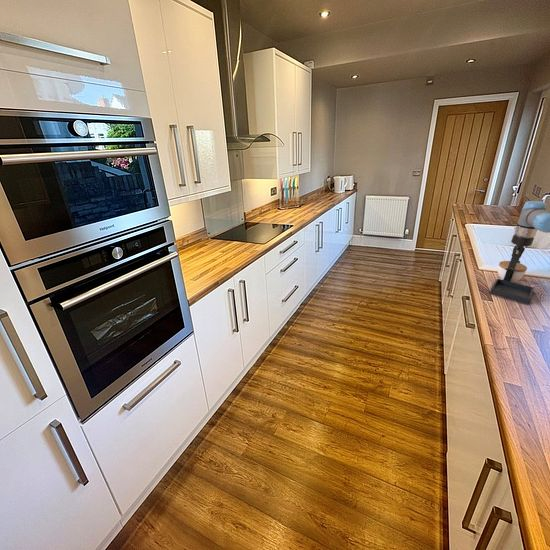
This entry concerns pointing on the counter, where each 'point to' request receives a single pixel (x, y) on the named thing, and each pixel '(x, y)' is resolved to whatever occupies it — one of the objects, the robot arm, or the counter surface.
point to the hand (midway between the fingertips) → (508, 278)
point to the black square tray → (512, 291)
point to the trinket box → (518, 270)
